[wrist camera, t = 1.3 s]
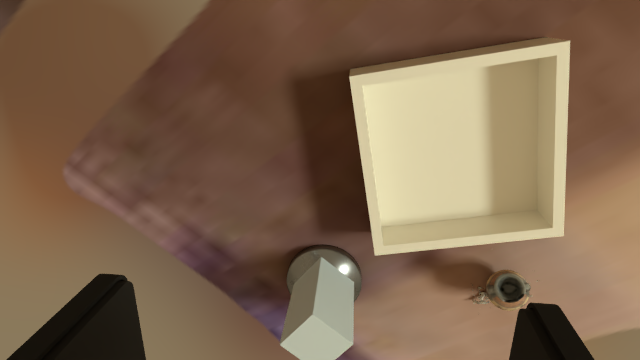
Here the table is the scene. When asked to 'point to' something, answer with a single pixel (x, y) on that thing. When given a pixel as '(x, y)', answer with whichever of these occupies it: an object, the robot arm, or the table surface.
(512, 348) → the robot arm
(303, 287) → the strut
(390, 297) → the table surface
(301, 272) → the grey round domed disc
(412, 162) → the dish
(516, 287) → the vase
